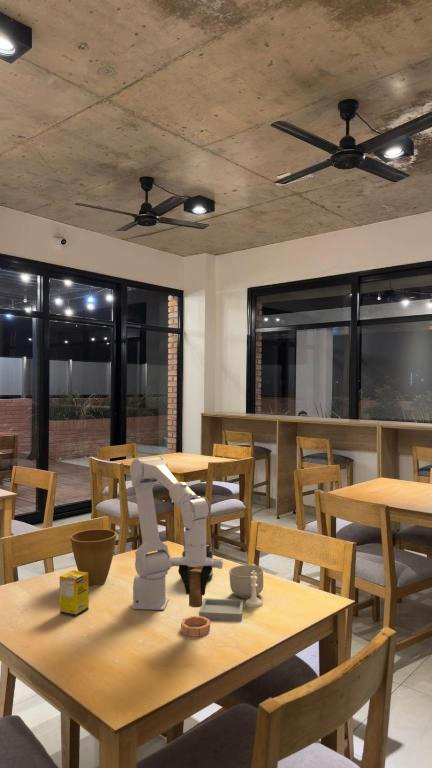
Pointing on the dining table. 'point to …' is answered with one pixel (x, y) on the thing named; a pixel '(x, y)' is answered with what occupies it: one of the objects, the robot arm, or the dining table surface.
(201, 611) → the tray
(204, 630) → the ring holder
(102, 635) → the dining table surface
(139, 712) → the dining table surface
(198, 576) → the dowel
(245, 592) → the teacup
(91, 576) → the plant pot
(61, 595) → the supplement box
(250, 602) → the chess piece
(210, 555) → the supplement container
